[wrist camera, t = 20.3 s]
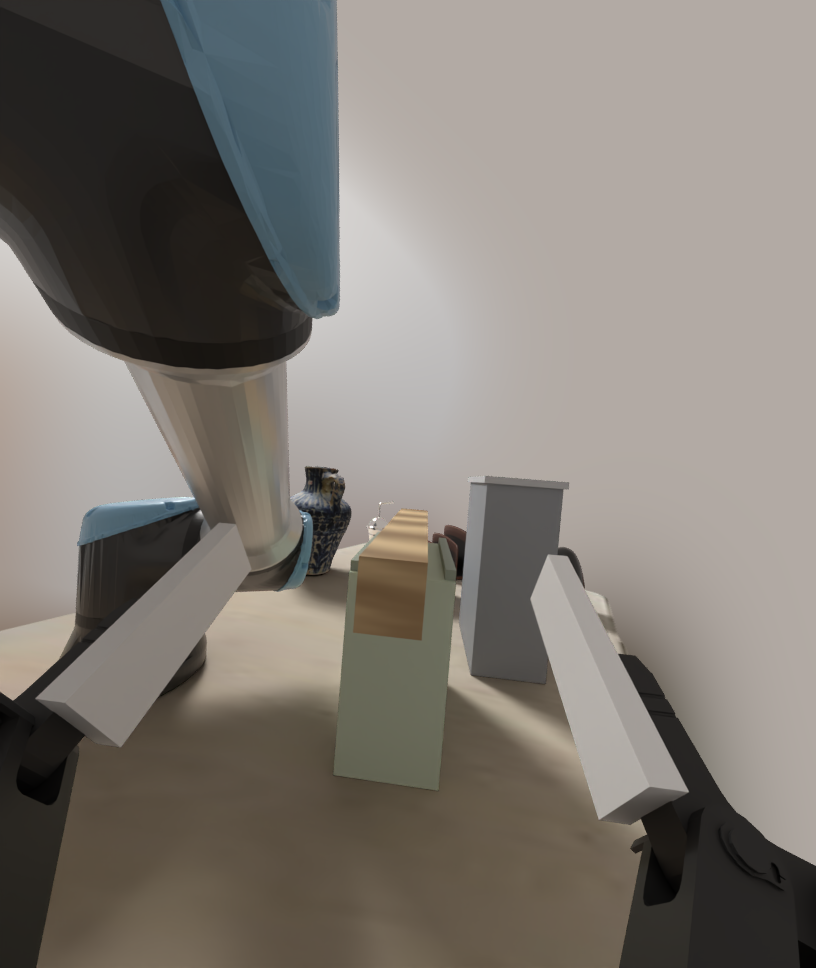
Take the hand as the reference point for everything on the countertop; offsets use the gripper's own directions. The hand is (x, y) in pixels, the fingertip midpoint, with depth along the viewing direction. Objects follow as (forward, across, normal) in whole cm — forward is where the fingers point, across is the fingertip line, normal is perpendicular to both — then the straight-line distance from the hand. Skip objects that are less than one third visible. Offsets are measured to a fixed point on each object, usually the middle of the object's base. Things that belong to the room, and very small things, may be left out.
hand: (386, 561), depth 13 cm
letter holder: (+59, +9, -64) cm, 87 cm away
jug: (+47, -29, -56) cm, 79 cm away
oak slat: (+13, 0, -14) cm, 19 cm away
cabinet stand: (+21, +16, -41) cm, 49 cm away
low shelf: (+7, 0, -33) cm, 33 cm away
